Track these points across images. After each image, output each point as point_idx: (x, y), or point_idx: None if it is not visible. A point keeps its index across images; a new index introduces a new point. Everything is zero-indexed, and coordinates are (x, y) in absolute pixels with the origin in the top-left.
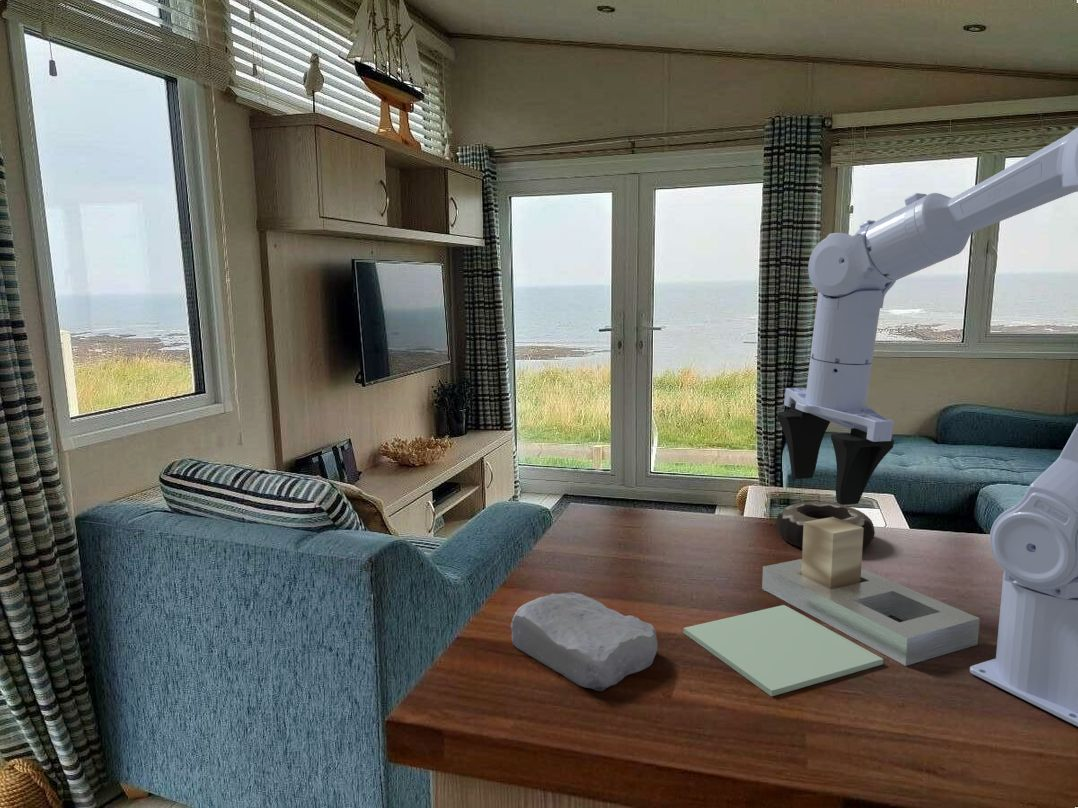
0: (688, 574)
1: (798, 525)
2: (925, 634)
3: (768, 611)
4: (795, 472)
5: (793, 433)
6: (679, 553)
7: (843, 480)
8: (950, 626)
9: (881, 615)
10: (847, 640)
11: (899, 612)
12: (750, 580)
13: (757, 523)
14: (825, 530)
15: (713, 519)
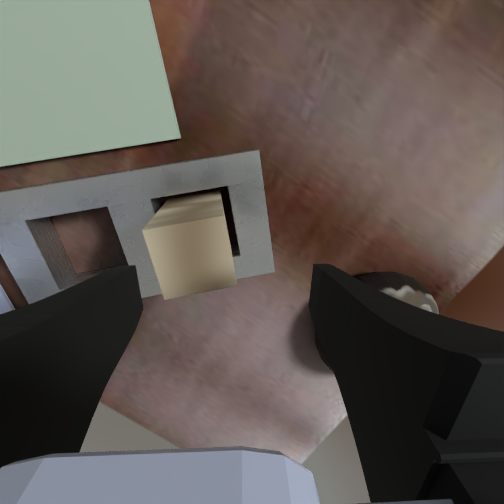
0: (340, 61)
1: None
2: None
3: (161, 98)
4: (319, 270)
5: (385, 332)
6: (418, 96)
7: (60, 291)
8: (12, 273)
9: (50, 212)
10: (54, 154)
11: None
12: (286, 150)
13: (452, 274)
14: (163, 226)
15: (498, 226)
